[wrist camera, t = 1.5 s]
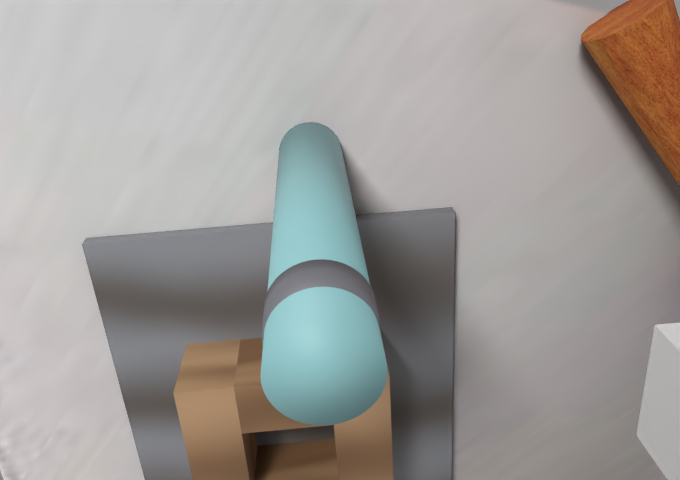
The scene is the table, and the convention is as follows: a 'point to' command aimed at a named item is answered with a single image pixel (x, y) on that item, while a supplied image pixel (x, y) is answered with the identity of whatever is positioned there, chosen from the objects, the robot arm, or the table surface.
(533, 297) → the table surface
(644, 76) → the kendama
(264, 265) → the gray base plate
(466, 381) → the table surface
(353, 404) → the banded teal rod
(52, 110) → the table surface
